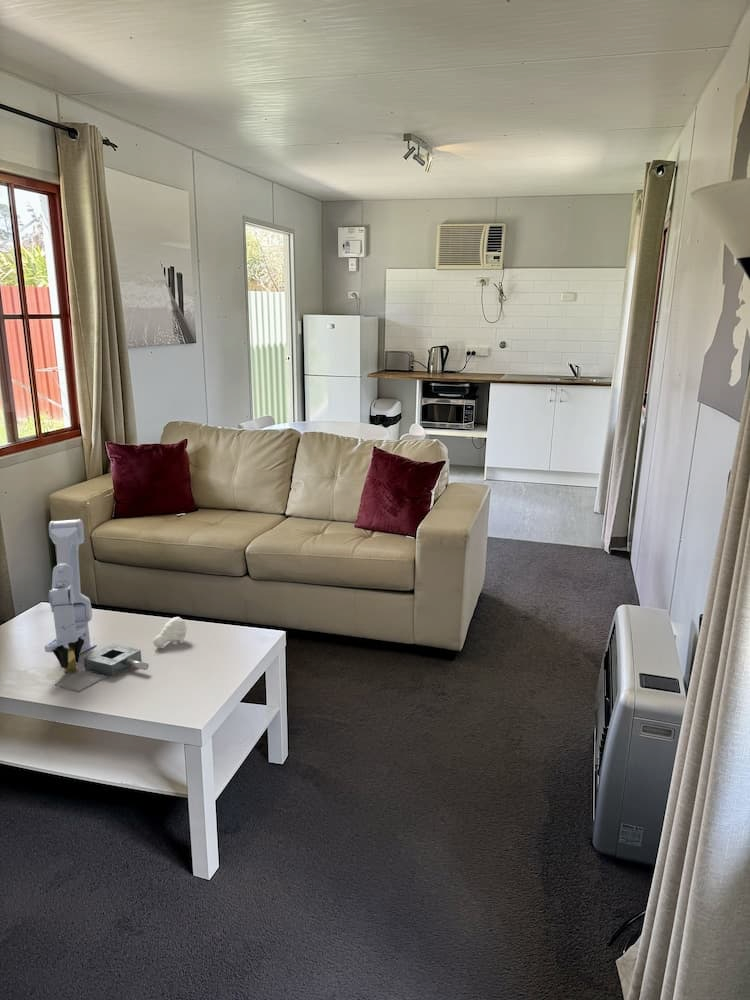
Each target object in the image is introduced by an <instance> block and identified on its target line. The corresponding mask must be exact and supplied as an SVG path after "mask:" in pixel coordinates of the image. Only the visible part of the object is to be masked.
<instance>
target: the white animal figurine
mask: <svg viewBox="0 0 750 1000" xmlns="http://www.w3.org/2000/svg"><path fill="white" fill-rule="evenodd" d="M186 633H187V625H186V621H185V620H184V619H183V618H181V617H180V616H176V617H175V616H174V617H172V618H170V619H169V620H168V621H167V622H166V623H165V624H164V626H163V628H162V629H161V631H160V633H159V634H157V635H156V636H155V637H154V638H153V640H152V643H153V645H154V647H156V649H158V650H160V649H163V648H166V647H165V646H166V645H165V644H167V643H168V642H169V643H170V642H173V641H174V642H175V641H176V642H177V641H179V643H180V644H184V640H185V639H186Z"/></svg>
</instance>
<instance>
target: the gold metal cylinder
mask: <svg viewBox="0 0 750 1000" xmlns="http://www.w3.org/2000/svg"><path fill="white" fill-rule="evenodd" d="M67 649H68V654H67V662H68V668H66V669H65V668H63V669H64V670H63V672H64V673H65V674H72V673H74V672H77V670H78V669H77V668H78V667H77V663H76V658H75V650H74V648H73V647H69V648H67Z"/></svg>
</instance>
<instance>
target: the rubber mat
mask: <svg viewBox="0 0 750 1000" xmlns="http://www.w3.org/2000/svg"><path fill="white" fill-rule="evenodd" d="M106 678H107V677H106V675H102V674H98V673H94V672H90V671H86V670H83V669H82V670H80V671H78V672H76V673H74V674H72V675H70V676H68V677H66V678H65V679H62V680H60V681H59V682H56V683H54V686H56V687H59V686H60V687H59V688H64V689H67V690H70V689H71V690H70V691H74V690H75V692H78V693H80V692H82V691H84V690H85V689H88V688H90V687H92V686H93V685H94V684H96V683H98V682H100V681H103V680H104V679H106Z"/></svg>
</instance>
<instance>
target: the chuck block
mask: <svg viewBox="0 0 750 1000" xmlns="http://www.w3.org/2000/svg"><path fill="white" fill-rule="evenodd" d="M83 665H84V666H83V667H84V671H87V672H91V673H95V674H98V675H102V676H107V677H110V678H115V677H116V676H119V674H122V673H124V672H125V671H127V670H129V669H131V668H135V669H141V670H144V671H146V670H148V669H149V663H147V662H142V652H141V649H139V648H133V647H130V646H129V647H128V646H125V645H120V644H117V643H116V644H115V643H112V644H109V645H108V646H106V647H104V648H102V649H100V650H97V651H96V652H93V653H92V654H90V655H88V656H85V657H83Z"/></svg>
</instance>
